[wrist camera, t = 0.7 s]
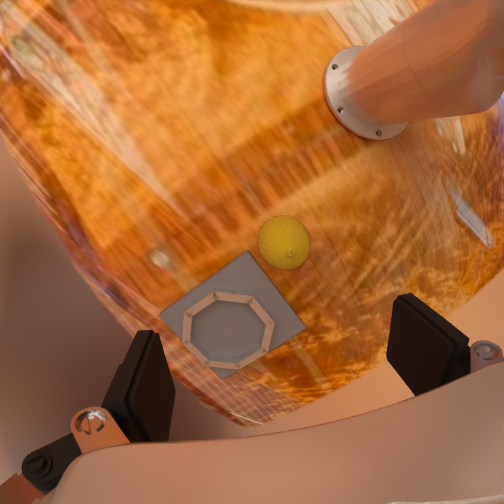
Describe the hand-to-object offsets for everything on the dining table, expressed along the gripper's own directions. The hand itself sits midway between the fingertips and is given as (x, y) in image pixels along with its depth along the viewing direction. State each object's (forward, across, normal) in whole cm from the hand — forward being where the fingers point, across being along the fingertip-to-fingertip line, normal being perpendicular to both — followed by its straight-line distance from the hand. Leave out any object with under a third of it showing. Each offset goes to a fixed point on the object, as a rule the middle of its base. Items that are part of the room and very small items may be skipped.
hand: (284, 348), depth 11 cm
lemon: (+25, -4, +1) cm, 25 cm away
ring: (+24, +3, +13) cm, 27 cm away
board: (+25, +2, +12) cm, 28 cm away
